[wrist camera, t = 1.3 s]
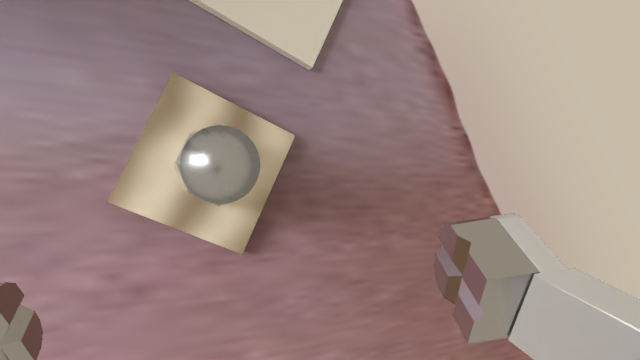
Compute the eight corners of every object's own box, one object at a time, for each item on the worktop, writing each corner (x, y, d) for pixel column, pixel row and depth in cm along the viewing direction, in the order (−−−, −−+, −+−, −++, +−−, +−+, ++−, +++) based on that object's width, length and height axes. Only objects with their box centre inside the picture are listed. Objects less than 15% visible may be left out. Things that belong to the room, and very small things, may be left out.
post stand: (110, 200, 36) (97, 207, 29) (171, 77, 37) (174, 54, 30) (238, 250, 40) (255, 267, 33) (289, 137, 41) (315, 130, 34)
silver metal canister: (164, 181, 35) (166, 184, 27) (192, 124, 36) (201, 111, 28) (223, 206, 37) (240, 216, 29) (249, 151, 38) (272, 146, 30)
